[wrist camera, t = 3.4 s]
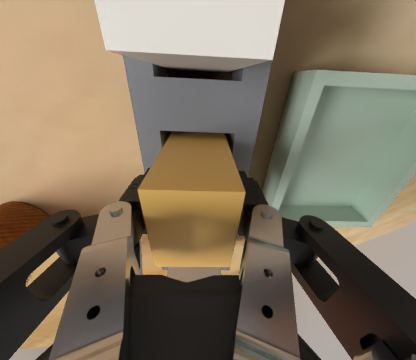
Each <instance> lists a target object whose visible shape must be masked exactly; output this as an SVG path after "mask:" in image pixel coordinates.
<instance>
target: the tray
mask: <svg viewBox="0 0 416 360" xmlns="http://www.w3.org/2000/svg"><path fill="white" fill-rule="evenodd" d="M415 174H416V75H404V74H386V73H368V72H350V71H332V70H306V71H294V73H293V77H292V81H291V85H290V88H289V92H288V96H287V99H286V103H285V107H284V111H283V114H282V118H281V122H280V125H279V129H278V133H277V137H276V140H275V144H274V148H273V151H272V155H271V159H270V162H269V166H268V170H267V174H266V177H265V181H264V185H263V188H262V193H263V195H264V197H265V199H266V201H267V203H268V205H269V206H272V207H274V208H275V209H277V210H278V211H279V212H280V214H281V217H284V218H287V219H291V220H295V221H299V219H300V218H301V217H302V216H304V215H311V216H315V217H318V218H320V219H322V220H324V221H325V222H326V223H328V224H329V225H330V226H331V227H372V226H373V225H374V223H375V222H376V221H377V220H378V218H379V217H380V216H381V215H382V214H383V212H384V211H385V210H386V209H387V208H388V206H389V205H390V204H391V203H392V202H393V200H394V199H395V198H396V197H397V195H398V194H399V193H400V192H401V191H402V189H403V188H404V187H405V186H406V185H407V183H408V182H409V181H410V180H411V179H412V177H413V176H414V175H415Z"/></svg>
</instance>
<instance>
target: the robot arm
mask: <svg viewBox="0 0 416 360" xmlns="http://www.w3.org/2000/svg"><path fill="white" fill-rule="evenodd" d="M149 169H150V168H148V169H147V171H146V172H145V174H144V175H139V176H138V177H136V178H135V179H134V180H133V181H132V182H131V185H129V187H128V189H127V190H126V191H125V192H124V194H123V195H122V197H121V198H120V200H119V201H118V202H114V203H111V204H109V205H107V206H105V207H104V208H103V209H102V210H101V211H100V213H99V214H97V215H92V216H87V217H81V215H80V213H79V212H78V211H76V210H65V211H61V212H58V213H56V214H53V215H51V216H50V217H48V218H47V219H45V220H44V221H42V222H41V223H39V224H38V225H36V226H35V227H33V228H32V229H30V230H29V231H27V232H26V233H24V234H23V235H21V236H20V237H18V238H17V239H15V240H14V241H12V242H11V243H9V244H8V245H6V246H5V247H3V248H2V249H0V360H9V359H10V358H11V356H12V355H13V354H14V353H15V352H16V351H17V350H18V348H19V347H20V346H21V345H22V344H23V343H24V342H25V340H26V339H27V338H28V337H29V336H30V335H31V334H32V332H33V331H34V330H35V329H36V328H37V327H38V325H39V324H40V323H41V322H42V321H43V320H44V319H45V317H46V316H47V315H48V314H49V313H50V312H51V311H52V309H53V308H54V307H55V306H56V305H57V304H58V303H59V301H60V300H61V299H62V298H63V297H64V296H65V294H66V293H67V292H68V291H69V293H68V297H67V300H66V303H65V307H64V310H63V313H62V317H61V320H60V323H59V327H58V330H57V333H56V337H55V340H54V343H53V344H52V345H51V346H50V347H49V348H48V349H47V350H46V351H45V352H44V353H42V354H41V355H40V356H39V357H38V358H37V359H36V360H321V359H320V358H319V357H318V356H317V354H316V353H315V352H314V351H313V350H312V349H311V348H310V347H309V346H308V344H307V343H306V342H305V341H304V340H303V339H302V338H301V337H300V336H299V334H298V333H297V323H296V313H295V303H294V293H293V283H292V273H293V275H294V276H295V278H296V279H297V281H298V282H299V283H300V285H301V286H302V288H303V289H304V291H305V292H306V294H307V295H308V296H309V298H310V299H311V301H312V302H313V304H314V305H315V307H316V308H317V310H318V311H319V313H320V314H321V315H322V317H323V318H324V320H325V321H326V323H327V324H328V325H329V327H330V328H331V330H332V331H333V333H334V334H335V336H336V337H337V339H338V340H339V341H340V343H341V344H342V346H343V347H344V349H345V350H346V352H347V353H348V355H349V356H350V357H351V359H352V360H416V299H415V298H414V297H413V296H411V295H410V294H409V293H408V292H407V291H406V290H404V289H403V288H402V287H401V286H400V285H399V284H398V283H396V282H395V281H394V280H393V279H392V278H390V277H389V276H388V275H387V274H386V273H385V272H383V271H382V270H381V269H380V268H379V267H378V266H377V265H375V264H374V263H373V262H372V261H371V260H369V259H368V258H367V257H366V256H365V255H364V254H363V253H361V252H360V251H359V250H358V249H357V248H356V247H354V246H353V245H352V244H351V243H350V242H349V241H348V240H346V239H345V238H344V237H343V236H342V235H341V234H339V233H338V232H337V231H336V230H335V229H334V228H332V227H331V226H330V225H329V224H328V223H326V222H325V221H324V220H322V219H320V218H318V217H315V216H311V215H304V216H302V217H301V218H300V219H299V221H295V220H291V219H287V218H284V217H281V214H280V212H279V211H278V210H277V209H275V208H274V207H272V206H269V205H268V203H267V201H266V199H265V197H264V195H263V193H262V191H261V189H260V187H259V185H258V183H257V182H256V181H255V180H254V179H253V178H248V177H247V175H246V173H245V171H238V172H239V175H240V178H241V181H242V183H243V186H244V189H245V192H246V193H245V198H244V203H243V208H242V212H241V217H240V222H239V227H238V235H242V236H245V243H244V248H243V254H242V259H241V265H240V271H239V275H213V276H209V277H206V278H202V279H198V280H195V281H191V282H183V281H180V280H176V279H173V278H170V277H166V276H163V275H142V254H141V241H140V239H141V236H142V234H147V229H146V225H145V221H144V216H143V212H142V207H141V203H140V199H139V194H138V190H137V189H138V188H139V186H140V184H141V183H142V181H143V179H144V178H145V176H146V174H147V173H148V171H149ZM55 252H57V253H58V255H59V256H60V257H59V258H58V259H57V260H56V261H55V262H54V263H53V264H52V265H51V266H49V267H48V268H47V269H46V270H45V271H44V272H43V273H42V274H41V275H40V276H39V277H37V278H36V279H35V280H34V281H33V282H32V283H31V284H30V285H29V286H28V287H26V285H25V283H26V280H27V278H28V276H29V275H30V274H31V273H32V272H33V271H34V270H35V269H36V268H38V267H39V266H40V265H41V264H42V263H43V262H44V261H46V260H47V259H48V258H49V257H50V256H51V255H52V254H54V253H55ZM318 257H319V258H320V259H321V260H322V261H323V262H324V264H325V265H326V266H327V267H328V268H329V269H330V270H331V271H332V272H333V274H334V275H335V276H336V277H337V279H338V281H339V285H338V284H337V283H336V282H335V281H334V279H332V277H331V276H330V275H329V274H328V273H327V272H326V270H325V269H324V268H323V267H322V266H321V265H320V264H319V262H318V261H317V260H316V259H317V258H318ZM291 272H292V273H291Z"/></svg>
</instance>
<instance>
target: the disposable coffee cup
mask: <svg viewBox="0 0 416 360" xmlns="http://www.w3.org/2000/svg"><path fill="white" fill-rule="evenodd" d="M48 217H50V216H49V215H47V214H46V213H45V212H43V211H42V210H40V209H38V208H36V207H34V206H31V205H28V204H24V203H19V202H8V203H4V204H2V205H0V249H2V248H3V247H5V246H6V245H8V244H9V243H11V242H12V241H14V240H15V239H17V238H18V237H20V236H21V235H23V234H24V233H26V232H27V231H29V230H30V229H32V228H33V227H35V226H36V225H38V224H39V223H41V222H42V221H44V220H45V219H47V218H48Z"/></svg>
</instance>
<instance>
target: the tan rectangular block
mask: <svg viewBox="0 0 416 360" xmlns="http://www.w3.org/2000/svg"><path fill="white" fill-rule="evenodd" d="M137 190H138V194H139V199H140V203H141V207H142V212H143V216H144V221H145V225H146V229H147V234H148V238H149V243H150V247H151V251H152V256H153V260H154V265H155V267H230V266H231V261H232V256H233V251H234V246H235V242H236V237H237V232H238V227H239V222H240V217H241V212H242V208H243V203H244V198H245V193H246V192H245V189H244V186H243V183H242V181H241V178H240V175H239V172H238V170H237V167H236V164H235V161H234V159H233V156H232V153H231V150H230V148H229V145H228V142H227V139H226V137H225V134H224V133H210V132H185V131H172V133H171V134H170V136H169V138H168V139H167V141H166V143H165V144H164V146H163V148H162V149H161V151H160V153H159V154H158V156H157V158H156V159H155V161H154V163H153V164H152V166H151V168H150V169H149V171H148V173H147V174H146V176H145V178H144V179H143V181H142V183H141V184H140V186H139V188H138V189H137Z"/></svg>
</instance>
